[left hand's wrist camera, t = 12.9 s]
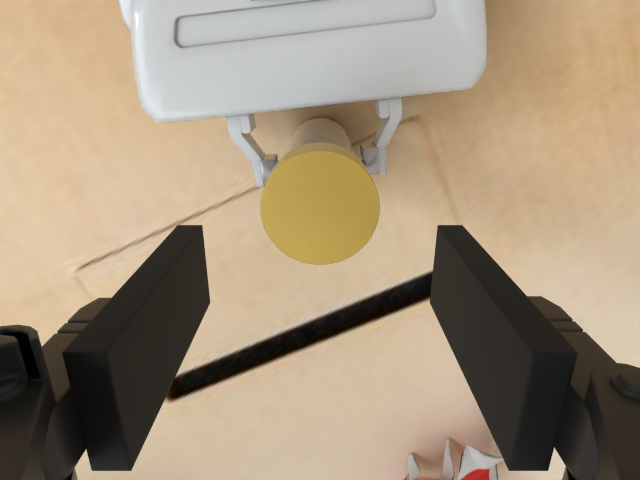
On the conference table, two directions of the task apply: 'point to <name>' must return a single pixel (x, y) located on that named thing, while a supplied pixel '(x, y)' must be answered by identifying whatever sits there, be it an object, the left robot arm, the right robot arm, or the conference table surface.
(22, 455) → the left robot arm
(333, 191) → the lid
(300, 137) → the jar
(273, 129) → the conference table surface
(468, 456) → the multicoloured piece
